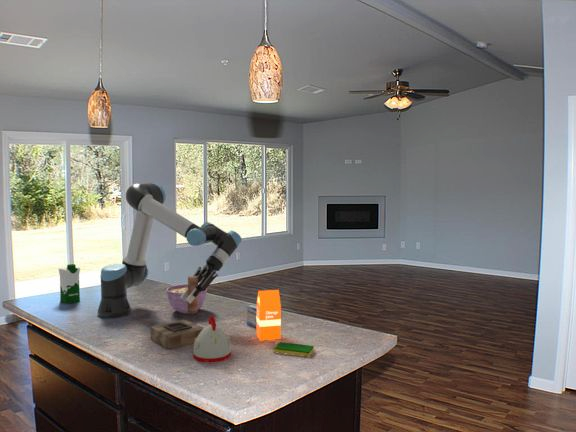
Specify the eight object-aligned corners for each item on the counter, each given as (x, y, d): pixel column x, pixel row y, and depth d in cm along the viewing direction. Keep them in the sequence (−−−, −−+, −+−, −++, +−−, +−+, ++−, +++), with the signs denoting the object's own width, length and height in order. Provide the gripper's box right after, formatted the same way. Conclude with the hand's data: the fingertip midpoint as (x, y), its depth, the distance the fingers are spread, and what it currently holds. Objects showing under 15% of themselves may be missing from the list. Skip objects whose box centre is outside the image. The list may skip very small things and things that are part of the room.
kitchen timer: (197, 365, 168) (197, 323, 167) (189, 351, 180) (189, 313, 179) (235, 359, 173) (235, 319, 172) (225, 347, 186) (225, 309, 185)
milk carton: (66, 304, 245) (65, 266, 243) (57, 301, 250) (56, 264, 249) (82, 301, 252) (81, 264, 251) (73, 298, 257) (72, 262, 256)
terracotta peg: (185, 311, 212) (186, 276, 211) (194, 310, 215) (194, 275, 213) (190, 314, 209) (191, 278, 207) (199, 312, 212) (199, 277, 210)
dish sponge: (279, 347, 187) (279, 341, 187) (313, 351, 183) (313, 345, 183) (273, 353, 180) (274, 347, 180) (309, 358, 176) (309, 351, 176)
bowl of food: (204, 304, 248) (204, 282, 247) (210, 315, 229) (210, 291, 228) (165, 307, 241) (164, 285, 241) (168, 318, 223) (167, 294, 222)
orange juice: (256, 335, 200) (256, 288, 199) (276, 333, 203) (276, 287, 201) (259, 341, 193) (260, 293, 191) (280, 339, 195) (281, 291, 193)
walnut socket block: (150, 338, 195) (150, 325, 194) (185, 330, 205) (185, 318, 205) (169, 349, 183) (169, 335, 182) (205, 340, 193) (205, 326, 193)
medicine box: (246, 324, 215) (246, 305, 214) (253, 322, 218) (253, 304, 217) (258, 328, 209) (258, 309, 209) (265, 326, 213) (265, 307, 212)
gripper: (232, 267, 214) (200, 309, 204) (211, 262, 227) (180, 301, 217) (223, 257, 210) (190, 299, 200) (202, 252, 223) (170, 291, 213)
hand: (185, 300), depth 209 cm, fingers closed on terracotta peg, 4 cm apart
